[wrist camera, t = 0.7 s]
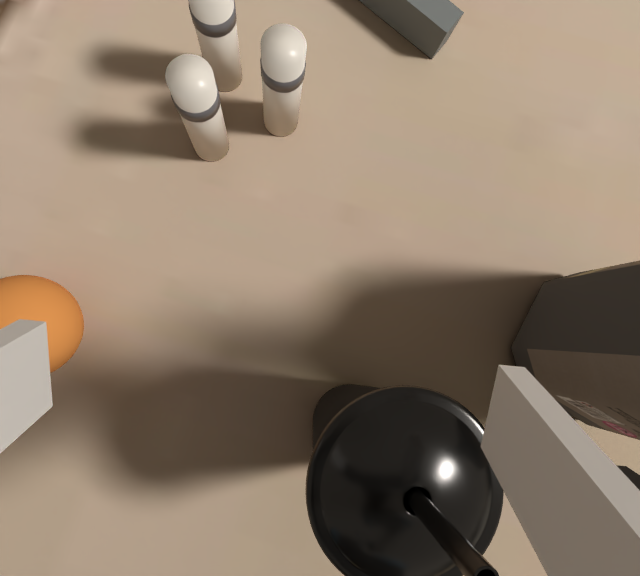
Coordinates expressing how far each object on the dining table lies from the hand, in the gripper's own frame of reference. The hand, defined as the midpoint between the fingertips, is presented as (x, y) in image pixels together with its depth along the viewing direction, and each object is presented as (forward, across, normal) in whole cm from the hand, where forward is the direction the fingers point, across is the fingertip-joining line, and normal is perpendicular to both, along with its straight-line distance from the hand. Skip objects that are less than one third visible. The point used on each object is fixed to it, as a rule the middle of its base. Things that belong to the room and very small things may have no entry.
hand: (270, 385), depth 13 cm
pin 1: (+23, +7, -11) cm, 26 cm away
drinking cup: (+15, -4, +10) cm, 19 cm away
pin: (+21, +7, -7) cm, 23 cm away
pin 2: (+22, +3, -9) cm, 24 cm away
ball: (+12, +15, +4) cm, 20 cm away
